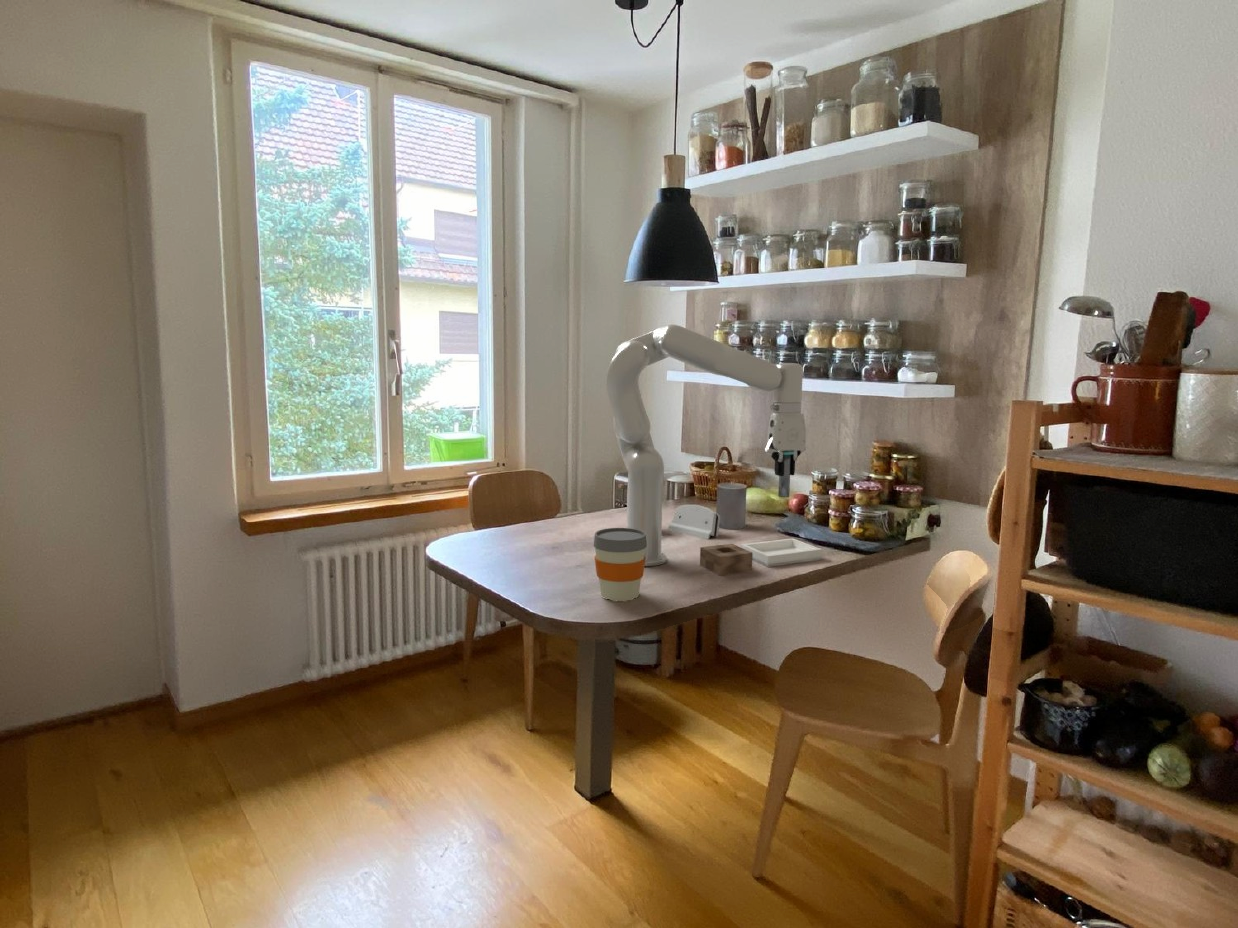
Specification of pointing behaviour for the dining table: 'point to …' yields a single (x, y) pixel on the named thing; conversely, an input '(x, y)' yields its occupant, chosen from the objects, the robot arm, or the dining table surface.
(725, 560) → the socket block
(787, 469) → the steel pin
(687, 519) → the hinge
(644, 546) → the reusable coffee cup
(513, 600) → the dining table surface
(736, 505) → the pillar candle
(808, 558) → the tray
